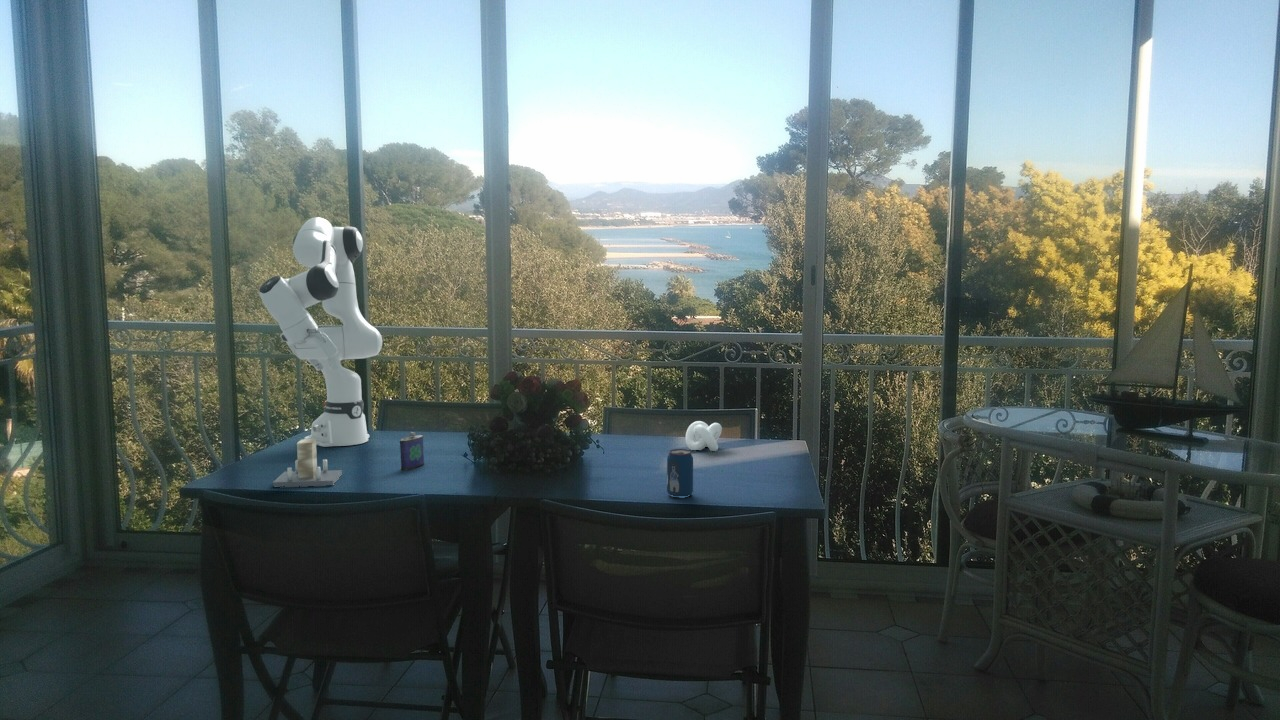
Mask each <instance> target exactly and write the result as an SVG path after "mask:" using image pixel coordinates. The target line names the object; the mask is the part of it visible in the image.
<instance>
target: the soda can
mask: <svg viewBox="0 0 1280 720" xmlns="http://www.w3.org/2000/svg"><path fill="white" fill-rule="evenodd" d="M668 451H669V453H668V455H667V456H666V493H667V494H668V495H669V494H670V495H673V496H688V495H691V496H692V494H693V492H694V456H693V454H692V450H691V449H684V448H676V449H670V450H668Z"/></svg>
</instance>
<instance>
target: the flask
mask: <svg viewBox="0 0 1280 720" xmlns="http://www.w3.org/2000/svg"><path fill="white" fill-rule="evenodd" d="M409 433H410V435H409V436H406V437H403V438H401V439H400V440H399V450H400V468H401V469H400V470H401V471H410V470H413V469H416V468H418V467H421V465H422V466H424V465H425V451H424V450H425V449H424V448H425V447H424V436H423V435H421V434H418V435H416V432H413V431H410V432H409ZM409 469H410V470H409Z"/></svg>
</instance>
